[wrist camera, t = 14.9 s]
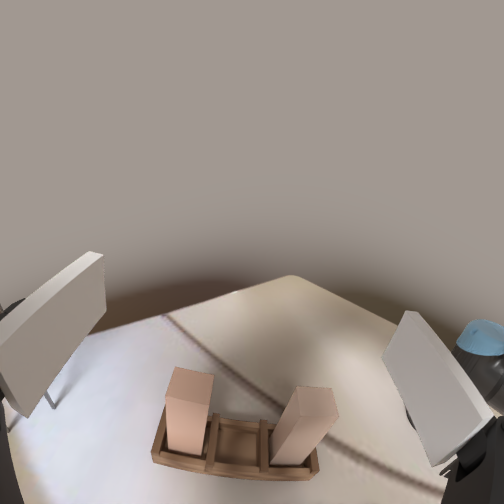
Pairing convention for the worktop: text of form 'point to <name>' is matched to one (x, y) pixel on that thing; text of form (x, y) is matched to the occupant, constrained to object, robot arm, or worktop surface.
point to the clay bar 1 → (187, 410)
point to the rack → (232, 452)
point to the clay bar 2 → (302, 425)
